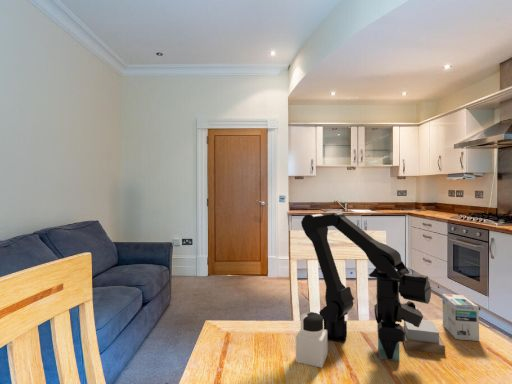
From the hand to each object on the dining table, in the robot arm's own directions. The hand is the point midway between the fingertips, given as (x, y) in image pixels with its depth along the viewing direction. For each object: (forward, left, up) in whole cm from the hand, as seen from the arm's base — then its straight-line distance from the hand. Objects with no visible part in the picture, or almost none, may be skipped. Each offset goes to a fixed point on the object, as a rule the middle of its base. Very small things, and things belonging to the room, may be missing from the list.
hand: (388, 350), depth 85 cm
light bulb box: (+23, +21, -1) cm, 31 cm away
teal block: (0, 0, -1) cm, 1 cm away
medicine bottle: (-20, -8, -1) cm, 22 cm away
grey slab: (+10, +10, +1) cm, 14 cm away
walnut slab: (+10, +10, -2) cm, 14 cm away
